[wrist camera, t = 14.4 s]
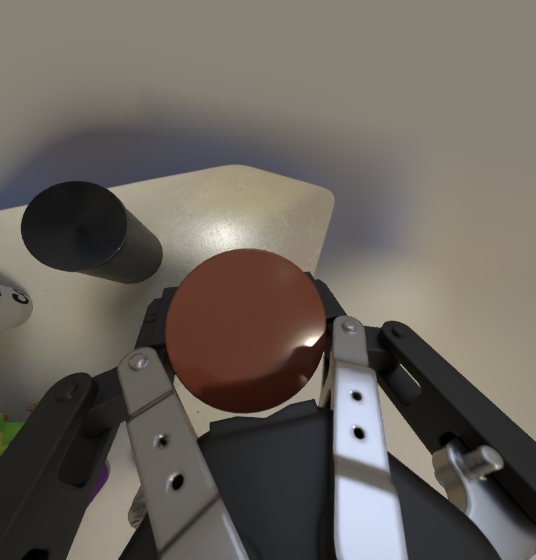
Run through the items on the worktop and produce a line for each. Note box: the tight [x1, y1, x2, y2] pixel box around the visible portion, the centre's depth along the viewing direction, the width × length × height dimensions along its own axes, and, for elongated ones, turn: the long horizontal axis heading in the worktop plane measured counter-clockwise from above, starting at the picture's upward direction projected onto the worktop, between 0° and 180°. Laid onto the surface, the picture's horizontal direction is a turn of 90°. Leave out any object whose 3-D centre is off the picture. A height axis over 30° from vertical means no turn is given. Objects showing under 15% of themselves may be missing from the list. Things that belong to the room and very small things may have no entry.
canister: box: [165, 249, 326, 414], centre depth 14 cm, size 6×6×12 cm
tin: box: [21, 181, 163, 284], centre depth 28 cm, size 10×10×12 cm
